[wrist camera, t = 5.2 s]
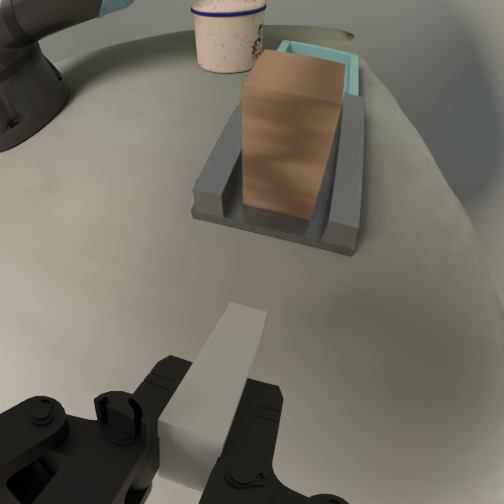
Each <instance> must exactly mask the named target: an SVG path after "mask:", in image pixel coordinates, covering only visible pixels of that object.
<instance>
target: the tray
mask: <svg viewBox="0 0 504 504" xmlns="http://www.w3.org/2000/svg"><path fill="white" fill-rule="evenodd" d="M277 51H282V52H288V53H294V54H300V55H305V56H311V57H316V58H321V59H325V60H330V61H334V62H338V63H343V64H346V65H345V78H344V89H343V97H344V93H349V94H353V95H356V96H358V55H356V54H352V53H348V52H344V51H340V50H336V49H331V48H327V47H322V46H317V45H312V44H307V43H301V42H295V41H289V40H283V41H282V43H281V44H280V46H279V48H278V49H277ZM342 101H343V100H342Z"/></svg>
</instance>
